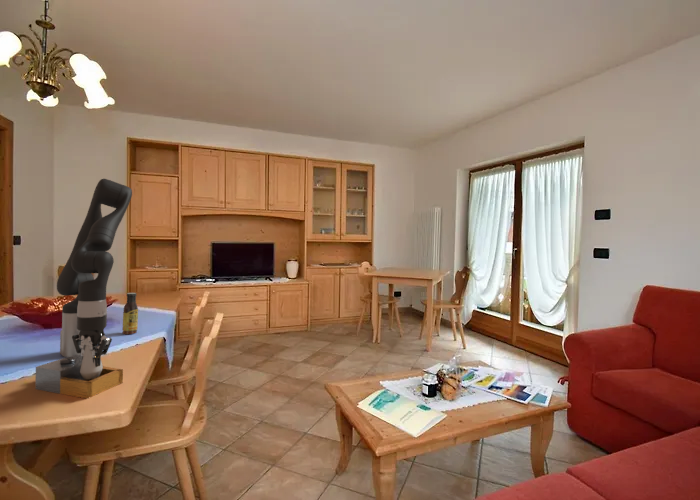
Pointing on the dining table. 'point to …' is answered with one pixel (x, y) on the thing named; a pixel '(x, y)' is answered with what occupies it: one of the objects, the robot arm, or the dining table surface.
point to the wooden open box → (75, 378)
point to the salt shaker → (89, 363)
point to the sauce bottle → (130, 315)
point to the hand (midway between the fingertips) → (91, 367)
